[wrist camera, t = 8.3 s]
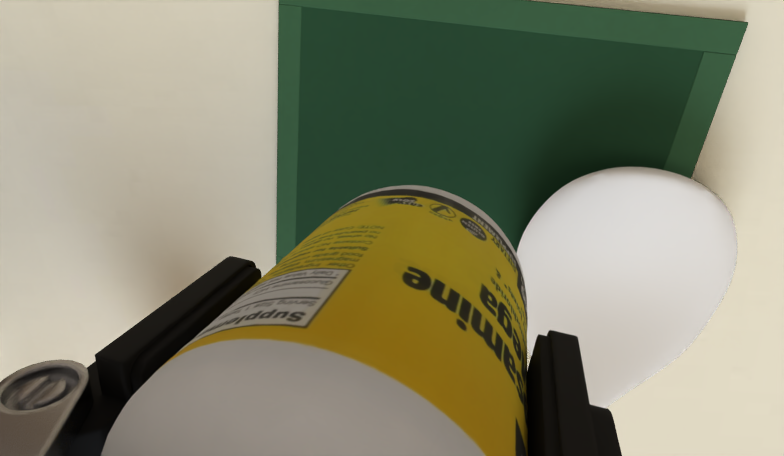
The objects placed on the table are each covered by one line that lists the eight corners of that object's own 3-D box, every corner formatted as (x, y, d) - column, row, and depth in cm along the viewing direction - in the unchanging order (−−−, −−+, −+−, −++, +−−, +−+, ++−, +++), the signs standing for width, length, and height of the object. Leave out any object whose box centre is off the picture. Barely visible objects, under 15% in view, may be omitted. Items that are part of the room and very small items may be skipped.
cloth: (278, 270, 29) (276, 273, 29) (281, -24, 23) (278, -25, 22) (624, 350, 25) (625, 354, 25) (745, 22, 19) (749, 22, 18)
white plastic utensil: (440, 565, 35) (432, 618, 32) (540, 140, 22) (542, 158, 19) (567, 607, 33) (571, 667, 30) (757, 173, 20) (799, 199, 17)
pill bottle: (558, 344, 13) (661, 1236, 3) (370, 385, 16) (104, 990, 6) (476, 141, 12) (235, 668, 2) (282, 220, 14) (-284, 645, 4)
